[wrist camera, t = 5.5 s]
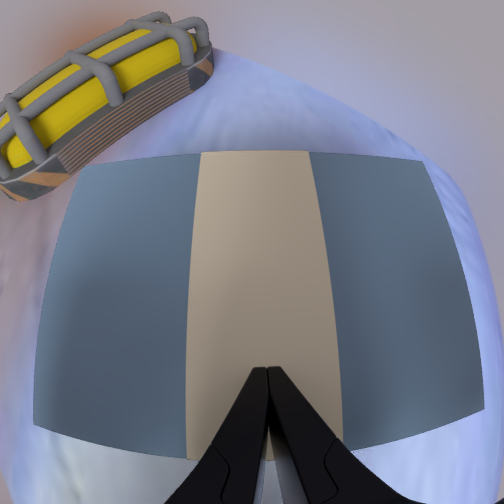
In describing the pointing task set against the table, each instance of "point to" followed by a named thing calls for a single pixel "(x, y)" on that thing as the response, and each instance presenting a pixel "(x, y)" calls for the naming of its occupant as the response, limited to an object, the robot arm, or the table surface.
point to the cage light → (97, 99)
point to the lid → (254, 299)
